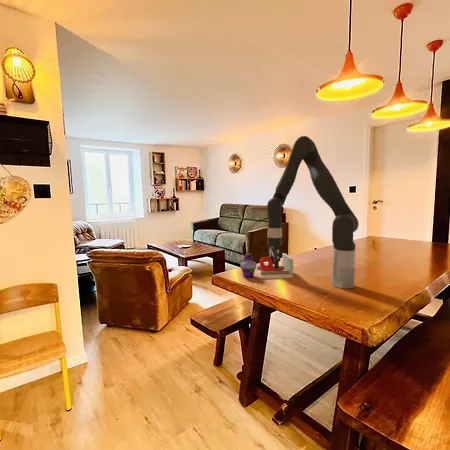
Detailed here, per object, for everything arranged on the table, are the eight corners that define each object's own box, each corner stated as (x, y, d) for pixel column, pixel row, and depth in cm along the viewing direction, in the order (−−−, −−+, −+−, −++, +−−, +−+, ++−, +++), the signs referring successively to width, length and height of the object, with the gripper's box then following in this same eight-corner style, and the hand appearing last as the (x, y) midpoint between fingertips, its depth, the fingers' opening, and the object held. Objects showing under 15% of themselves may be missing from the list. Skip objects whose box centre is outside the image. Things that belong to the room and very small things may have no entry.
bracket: (263, 271, 146) (261, 255, 148) (260, 271, 151) (259, 256, 152) (285, 269, 149) (283, 254, 151) (282, 270, 153) (280, 255, 155)
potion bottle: (250, 280, 142) (250, 256, 140) (236, 276, 148) (236, 253, 146) (260, 276, 148) (260, 253, 147) (247, 273, 154) (247, 251, 153)
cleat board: (292, 277, 145) (293, 259, 144) (261, 278, 144) (262, 260, 143) (284, 270, 159) (285, 253, 158) (256, 270, 158) (256, 254, 157)
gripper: (285, 238, 143) (285, 269, 145) (277, 233, 157) (277, 262, 159) (271, 238, 142) (270, 270, 144) (264, 234, 156) (264, 263, 158)
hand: (274, 266), depth 152 cm, fingers open, 8 cm apart
